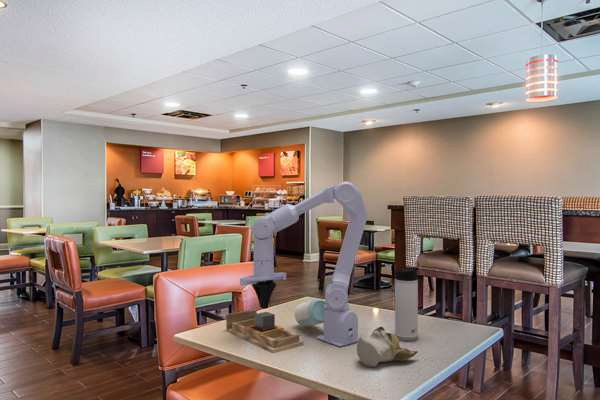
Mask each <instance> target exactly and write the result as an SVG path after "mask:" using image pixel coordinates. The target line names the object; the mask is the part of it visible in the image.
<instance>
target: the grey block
mask: <svg viewBox="0 0 600 400" xmlns="http://www.w3.org/2000/svg"><path fill="white" fill-rule="evenodd" d="M275 316H276V315H275V314H274V313H271V312H269V311H263V312H259V313H258V312H257V314H255V330H257V331H259V332H264V331H269V330H273V329H275V325H276V322H275V321H276V319H275V318H276V317H275Z"/></svg>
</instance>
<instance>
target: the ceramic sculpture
mask: <svg viewBox="0 0 600 400" xmlns="http://www.w3.org/2000/svg"><path fill="white" fill-rule="evenodd" d="M358 338H359V340H358V341H357V344H356V353H357V356H358V359H359V361H360V362H361V363H362V364H363V365H364V366H366V367H370V368H371V367H372V368H374V367H376V366H377V365H379V363H387V362H392V361H395V360H396V361H407V360H410V359H411V358H412V357H414V356H415V355H417V354H418V351H417V350H410V349H408V348H406V347H404V348H403V347H401V346H400V340H398V338H397V336H396V335H395V332H392V331H389V330H386V329H385V328H384V327H383V326H379V327H377V328H375V329H373V330H372V332H371V334H370V336H369V337H363V336H360V337H358Z"/></svg>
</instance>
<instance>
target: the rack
mask: <svg viewBox="0 0 600 400" xmlns="http://www.w3.org/2000/svg"><path fill="white" fill-rule="evenodd" d="M255 314H258V311H257V309H256V308H252V309H247V310H242V311H236V312H231V313H228V314H227V313H226V314H225V315H226V317H225V318H226V320H225V321H226V322H225V324H226V327H225V328H226V330H225V331H226V332H228V333H230V334H231V335H234V336H236V337H239V338H241V339H243V340H245V341H247V342H249V343H251V344H254V346H255V345H256V346H257V347H260V348H262V349H264V350H265V351H269V352H270V353H272V354H275V353H278V352H282V351H285V350H286V351H287V350H290V349H292V348H296V347H299V346H304V341H303V340H301V339H300V335H299V334H296V333H294V332H292V331H289V330H287V329H284V327H281V326H278V325H276V324H275V329H273V330H269V331H264V332H259V331H257V330H255Z"/></svg>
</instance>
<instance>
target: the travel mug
mask: <svg viewBox="0 0 600 400" xmlns="http://www.w3.org/2000/svg"><path fill="white" fill-rule="evenodd" d="M418 271H420V267H418V266H416V267H403V268H401V267H400V268H397V269H396V270H395V271H394V275H395V276H394V334H395V335H396V336H397V338H398V340H399V341H401V342H408V341H410V342H416V341H417V340H418V339H419V333H418V332H419V319H418V318H419V315H418V314H419V313H418V312H419V308H418V307H419V305H418V304H419V297H418V296H419V295H418V294H419V292H418V291H419V287H418V286H419V283H418V281H419V280H418V279H419V278H418Z"/></svg>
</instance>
